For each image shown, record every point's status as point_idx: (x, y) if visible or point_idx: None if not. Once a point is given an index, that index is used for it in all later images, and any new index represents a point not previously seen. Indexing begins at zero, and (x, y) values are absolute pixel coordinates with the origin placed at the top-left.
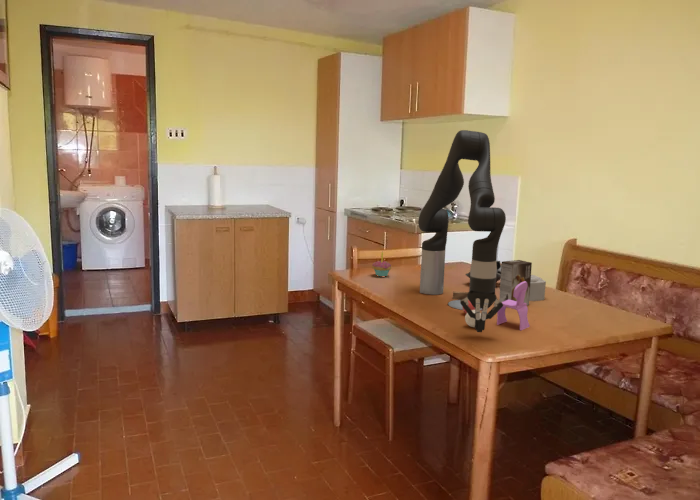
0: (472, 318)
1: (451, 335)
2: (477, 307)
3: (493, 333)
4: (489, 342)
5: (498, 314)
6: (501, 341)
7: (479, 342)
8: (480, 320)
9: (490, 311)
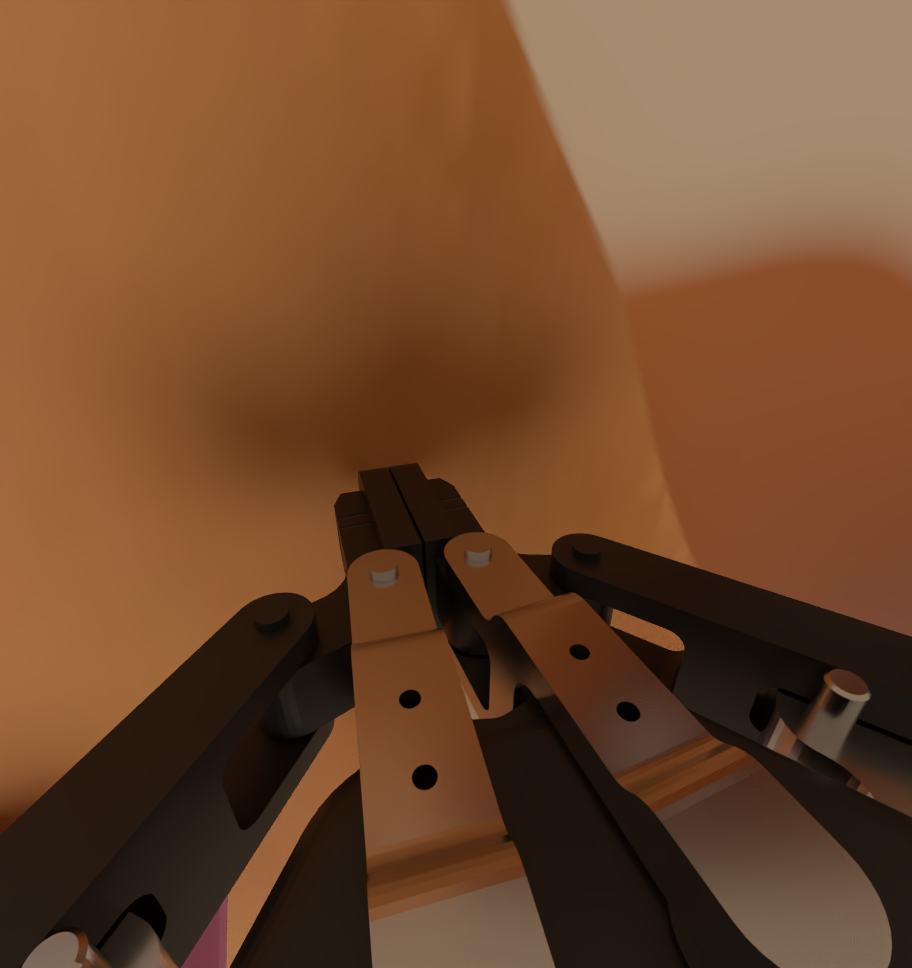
0: (471, 717)
1: (627, 416)
2: (610, 674)
3: (233, 614)
4: (247, 298)
5: (215, 934)
6: (89, 385)
7: (372, 264)
8: (421, 556)
9: (275, 776)
